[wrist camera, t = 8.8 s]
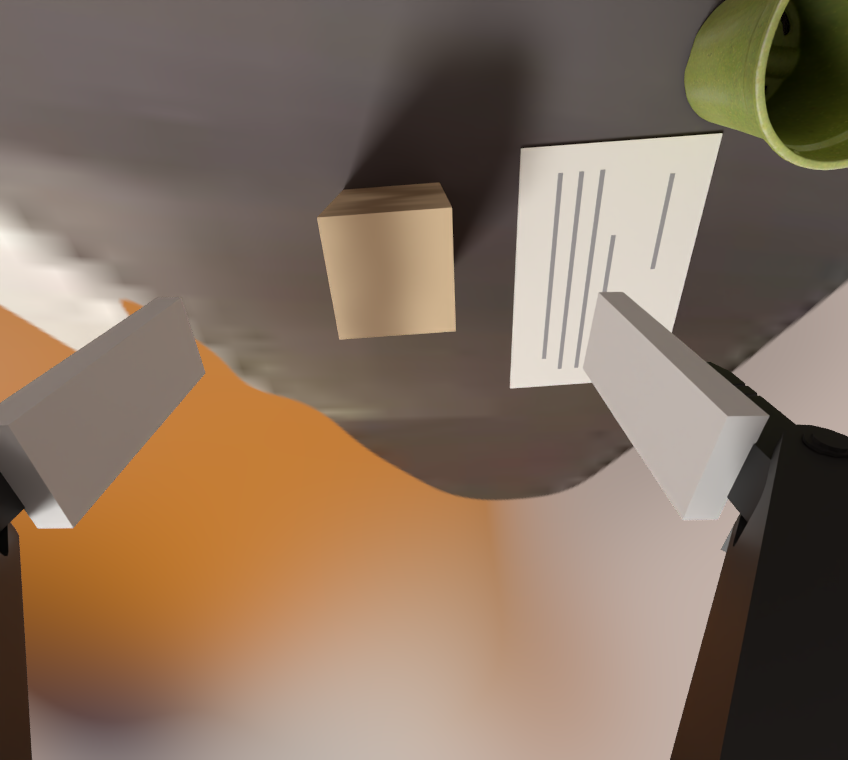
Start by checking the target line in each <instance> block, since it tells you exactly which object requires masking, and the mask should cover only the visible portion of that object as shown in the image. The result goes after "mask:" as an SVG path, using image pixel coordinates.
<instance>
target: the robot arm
mask: <svg viewBox="0 0 848 760" xmlns="http://www.w3.org/2000/svg"><path fill="white" fill-rule="evenodd" d="M583 369H584V371H585V373H586V374H587V376H588V377H589V379H590V380H591V382H592V383H593V385H594V386H595V388H596V389H597V391H598V392H599V394H600V395H601V397H602V398H603V400H604V401H605V403H606V405H607V406H608V408H609V409H610V411H611V412H612V414H613V415H614V417H615V418H616V420H617V421H618V423H619V424H620V426H621V427H622V429H623V430H624V432H625V434H626V435H627V437H628V438H629V440H630V441H631V443H632V444H633V446H634V447H635V449H636V450H637V452H638V453H639V455H640V456H641V458H642V459H643V461H644V463H645V464H646V466H647V467H648V469H649V470H650V471H651V473H652V475H653V476H654V478H655V479H656V481H657V482H658V484H659V485H660V487H661V488H662V490H663V491H664V493H665V495H666V496H667V498H668V499H669V501H670V502H671V503H672V505H673V507H674V508H675V510H676V511H677V513H678V514H679V516H680V517H681V519H682V520H718V518H719V516H720V514H721V512H722V510H723V508H724V506H725V504H726V502H727V500H728V499H729V500H730V501H731V502H732V504H733V505H734V506H735V507H736V509H737V510H738V511H739V512H740V515H739V516H738V518H737V521H736V522H735V524H734V526H733V528H732V530H731V531H730V533H729V535H728V537H727V539H726V541H725V543H724V545H723V547H722V548H721V550H723V551H725V552H726V556H725V559H724V563H723V567H722V570H721V574H720V578H719V582H718V585H717V589H716V592H715V596H714V600H713V603H712V607H711V611H710V614H709V618H708V622H707V625H706V629H705V633H704V636H703V640H702V644H701V647H700V651H699V655H698V659H697V662H696V666H695V670H694V673H693V677H692V681H691V684H690V688H689V692H688V695H687V699H686V703H685V707H684V710H683V714H682V718H681V721H680V725H679V728H678V732H677V736H676V740H675V743H674V747H673V751H672V754H671V758H670V760H848V437H847V436H845V435H843V434H840V433H837V432H835V431H832V430H829V429H826V428H821V427H816V426H812V425H796V424H794V423H793V422H792V421H791V420H789V419H788V418H787V417H786V416H784V415H783V414H782V413H781V412H780V411H778V410H777V409H776V408H775V407H773V406H772V405H771V404H770V403H769V402H767V401H766V400H765V399H764V398H762V397H761V396H757V393H756V392H755V391H754V390H752V389H751V388H750V387H749V386H745V383H744V382H743V381H741V380H740V379H739V378H738V377H736V376H735V375H734V374H733V373H731V372H730V371H728V370H726V369H724V368H722V367H720V366H717V365H715V364H713V363H711V362H705V361H704V360H703V359H702V358H701V357H699V356H698V355H697V354H696V353H695V352H694V351H692V350H691V349H690V348H689V347H688V346H686V345H685V344H684V343H683V342H682V341H681V340H679V339H678V338H677V337H676V336H675V335H673V334H672V333H671V332H670V331H669V330H667V329H666V328H665V327H664V326H663V325H662V324H660V323H659V322H658V321H657V320H656V319H654V318H653V317H652V316H651V315H650V314H649V313H647V312H646V311H645V310H644V309H643V308H641V307H640V306H639V305H638V304H637V303H636V302H634V301H633V300H632V299H631V298H630V297H628V296H627V295H626V294H625V293H624V292H599V293H598V297H597V302H596V307H595V312H594V317H593V321H592V326H591V331H590V336H589V341H588V345H587V350H586V355H585V360H584V365H583ZM204 374H205V370H204V367H203V364H202V361H201V357H200V354H199V351H198V348H197V345H196V342H195V338H194V335H193V332H192V329H191V326H190V323H189V320H188V316H187V313H186V310H185V307H184V304H183V301H182V297H158V298H156V299H154V300H153V301H151V302H150V303H148V304H147V305H145V306H144V307H142V308H141V309H139V310H138V311H136V312H135V313H133V314H132V315H130V316H129V317H127V318H126V319H124V320H123V321H121V322H120V323H118V324H117V325H115V326H114V327H112V328H111V329H109V330H108V331H106V332H105V333H104V334H102V335H101V336H99V337H98V338H96V339H95V340H93V341H92V342H90V343H89V344H87V345H86V346H84V347H83V348H81V349H80V350H78V351H77V352H75V353H74V354H72V355H71V356H69V357H68V358H66V359H65V360H63V361H62V362H61V363H59V364H57V365H56V366H54V367H53V368H51V369H50V370H48V371H47V372H45V373H44V374H43V375H41V376H40V377H38V378H37V379H35V380H34V381H32V382H31V383H29V384H28V385H26V386H25V387H23V388H22V389H20V390H19V391H17V392H16V393H14V394H13V395H11V396H10V397H8V398H7V399H5V400H4V401H2V402H1V403H0V760H32V753H31V738H30V737H31V736H30V719H29V702H28V685H27V667H26V652H25V651H26V650H25V633H24V618H23V599H22V581H21V565H20V547H19V535H18V533H17V531H16V529H15V528H14V527H13V525H12V524H11V523H10V522H11V521H12V520H13V519H14V518H15V517H16V516H17V515H18V514H19V513H20V512H21V511H22V510H23V509H25V511H26V512H27V514H28V515H29V517H30V518H31V519H32V521H33V522H34V524H35V525H36V527H37V528H74V527H75V525H76V524H77V523H78V522H79V521H80V520H81V518H82V517H83V516H84V515H85V514H86V513H87V511H88V510H89V509H90V508H91V507H92V505H93V504H94V503H95V502H96V501H97V500H98V498H99V497H100V496H101V495H102V494H103V493H104V491H105V490H106V489H107V488H108V487H109V485H110V484H111V483H112V482H113V481H114V480H115V478H116V477H117V476H118V475H119V474H120V473H121V471H122V470H123V469H124V468H125V467H126V466H127V464H128V463H129V462H130V461H131V459H133V457H134V456H135V455H136V454H137V453H138V452H139V450H140V449H141V448H142V447H143V446H144V444H145V443H146V442H147V441H148V440H149V439H150V437H151V436H152V435H153V434H154V433H155V432H156V430H157V429H158V428H159V427H160V426H161V425H162V423H163V422H164V421H165V420H166V419H167V417H168V416H169V415H170V414H171V412H173V410H174V409H175V408H176V407H177V406H178V405H179V403H180V402H181V401H182V400H183V399H184V397H185V396H186V395H187V394H188V393H189V391H190V390H191V389H192V388H193V387H194V386H195V385H196V383H197V382H198V381H199V380H200V379H201V377H202V376H203V375H204Z"/></svg>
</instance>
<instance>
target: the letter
mask: <svg viewBox="0 0 848 760" xmlns="http://www.w3.org/2000/svg"><path fill="white" fill-rule="evenodd" d="M722 134H723V133H717V134H704V135H691V136H677V137H664V138H651V139H638V140H624V141H611V142H598V143H585V144H571V145H558V146H545V147H532V148H521V153H520V175H519V197H518V219H517V241H516V263H515V285H514V307H513V329H512V351H511V373H510V388H522V387H537V386H551V385H565V384H579V383H592V382H591V380H590V379H589V377H588V376H587V374H586V373H585V371H584V369H583V365H584V360H585V355H586V350H587V345H588V341H589V336H590V331H591V326H592V321H593V317H594V312H595V307H596V302H597V297H598V293H599V292H624V293H625V294H626V295H627V296H628V297H630V298H631V299H632V300H633V301H634V302H636V303H637V304H638V305H639V306H640V307H641V308H643V309H644V310H645V311H646V312H647V313H649V314H650V315H651V316H652V317H653V318H654V319H656V320H657V321H658V322H659V323H660V324H662V325H663V326H664V327H665V328H666V329H667V330H669V331H670V332H671V333H672V329H673V325H674V322H675V318H676V314H677V310H678V306H679V302H680V298H681V294H682V290H683V286H684V282H685V279H686V275H687V271H688V267H689V263H690V259H691V255H692V251H693V247H694V243H695V240H696V236H697V232H698V228H699V224H700V220H701V216H702V212H703V208H704V204H705V200H706V197H707V193H708V189H709V185H710V181H711V177H712V173H713V169H714V165H715V161H716V157H717V154H718V150H719V146H720V142H721V138H722Z"/></svg>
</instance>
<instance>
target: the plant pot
mask: <svg viewBox="0 0 848 760" xmlns="http://www.w3.org/2000/svg"><path fill="white" fill-rule="evenodd" d="M783 12H785V13H786V15H787V18H788V21H789V25H790V29H789V32H788V34H787V35H784V33H783V28H782V27H783V23H782V21H781V16H782V14H783ZM684 83H685V91H686V96H687V99H688V102H689V103H690V105H691V107H692V109H693V110H694V111H695V112H696V113H697V114H698V115H699V116H700V117H701V118H703V119H705V120H707V121H709V122H712V123H715V124H719V125H722V126H725V127H729V128H732V129H736V130H739V131H742V132H745V133H748V134H751V135H753V136H756V137H759V138H762V139H764V140H765V141H766V142H767V143H768V144H769V146H770V147H771V148H772V149H773V150H774V151H775V152H776V153H777V154H778V155H779V156H780V157H782V158H783V159H785V160H787V161H789V162H790V163H792V164H795V165H798V166H801V167H805V168H810V169H818V170H833V169H841V168H846V167H848V0H726V1H724V2H723V3H722V4H721V5H719V6H718V7H717V8H716V9H715V10H714V11H713V13H712V14H711V15H710V16H709V17H708V18H707V20H706V21H705V22H704V24H703V25H702V27H701V28H700V30H699V32H698V33H697V35H696V37H695V40H694V44H693V47H692V50H691V54H690V57H689V60H688V64H687V66H686V69H685V77H684ZM765 85H767V86H768V87H767V90H766V91H765Z"/></svg>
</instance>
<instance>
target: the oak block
mask: <svg viewBox="0 0 848 760" xmlns="http://www.w3.org/2000/svg"><path fill="white" fill-rule="evenodd" d="M317 220H318V226H319V231H320V236H321V242H322V247H323V253H324V258H325V263H326V269H327V274H328V280H329V285H330V290H331V296H332V301H333V307H334V312H335V317H336V323H337V328H338V334H339V339H354V338H368V337H381V336H395V335H409V334H423V333H436V332H450V331H456V326H455V292H454V258H453V224H452V206H451V204H450V202H449V200H448V198H447V196H446V194H445V192H444V190H443V188H442V186H441V184H440V182H439V183H425V184H412V185H399V186H385V187H372V188H359V189H345V190H343V191H342V192H341V193H340V194H339V195H338V196H337V197H336V198H335V199H334V200H333V201H332V202H331V203H330V204H329V205H328V206H327V207H326V209H325V210H324V211H323V212H322V213H321V214H320V215H319V216H318V217H317Z"/></svg>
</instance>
